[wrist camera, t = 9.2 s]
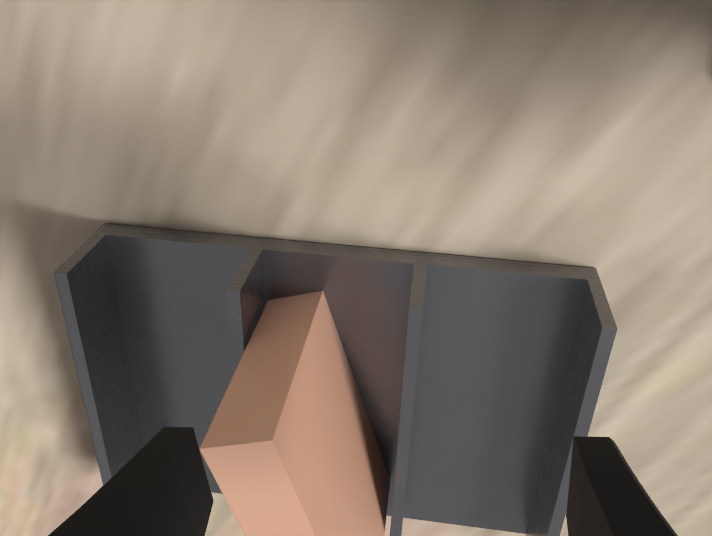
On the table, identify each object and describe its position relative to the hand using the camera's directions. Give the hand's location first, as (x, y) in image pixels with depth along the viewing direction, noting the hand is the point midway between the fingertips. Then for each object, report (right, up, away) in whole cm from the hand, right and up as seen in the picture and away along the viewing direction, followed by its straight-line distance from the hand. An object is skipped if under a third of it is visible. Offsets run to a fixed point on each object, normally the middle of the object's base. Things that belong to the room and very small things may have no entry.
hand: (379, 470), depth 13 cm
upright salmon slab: (-1, -1, +12) cm, 12 cm away
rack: (-1, -1, +13) cm, 13 cm away
